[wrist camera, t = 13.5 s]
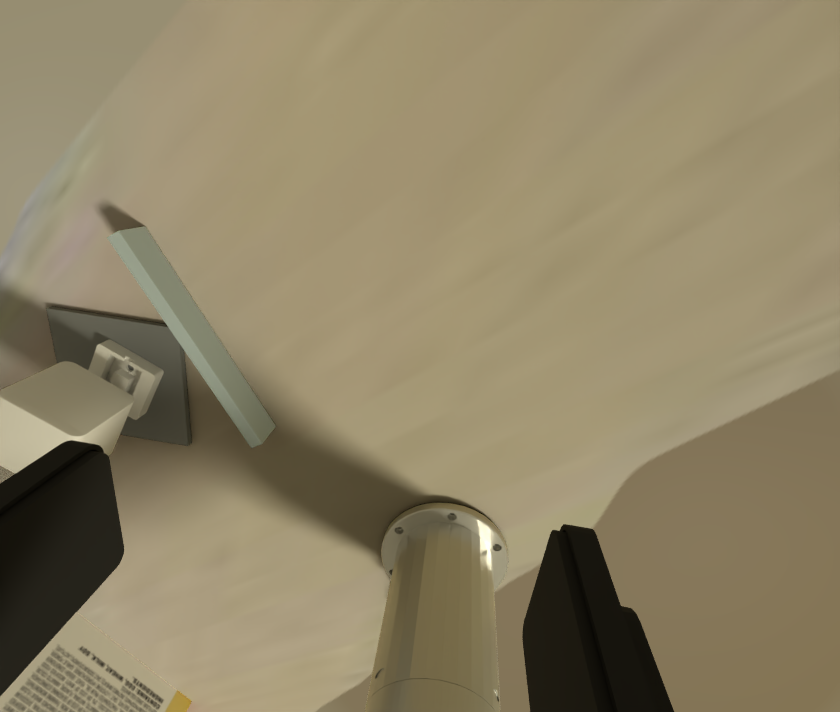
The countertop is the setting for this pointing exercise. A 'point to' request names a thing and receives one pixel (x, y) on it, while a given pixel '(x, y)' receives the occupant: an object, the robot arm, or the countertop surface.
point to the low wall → (192, 332)
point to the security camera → (74, 404)
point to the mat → (147, 340)
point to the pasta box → (89, 677)
